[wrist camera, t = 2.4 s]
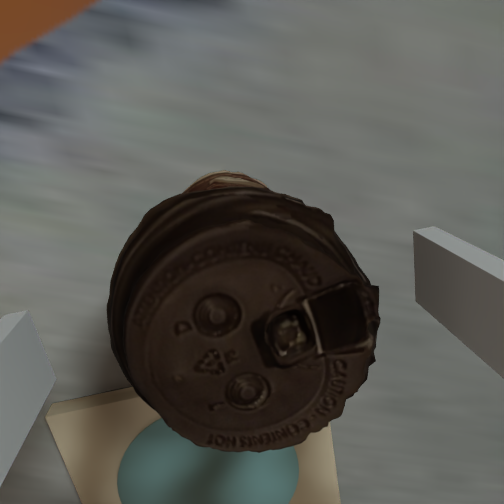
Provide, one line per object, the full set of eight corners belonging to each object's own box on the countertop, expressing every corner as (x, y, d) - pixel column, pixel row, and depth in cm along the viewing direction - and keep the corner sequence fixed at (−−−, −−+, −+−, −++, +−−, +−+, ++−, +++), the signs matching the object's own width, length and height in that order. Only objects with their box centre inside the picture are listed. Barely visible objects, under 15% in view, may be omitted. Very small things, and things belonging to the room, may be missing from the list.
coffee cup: (327, 184, 23) (464, 268, 11) (272, 311, 25) (336, 499, 13) (176, 127, 21) (139, 151, 9) (132, 270, 23) (54, 443, 11)
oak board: (316, 347, 26) (322, 360, 25) (338, 513, 32) (344, 530, 30) (52, 403, 26) (43, 419, 24) (118, 563, 31) (115, 584, 30)
